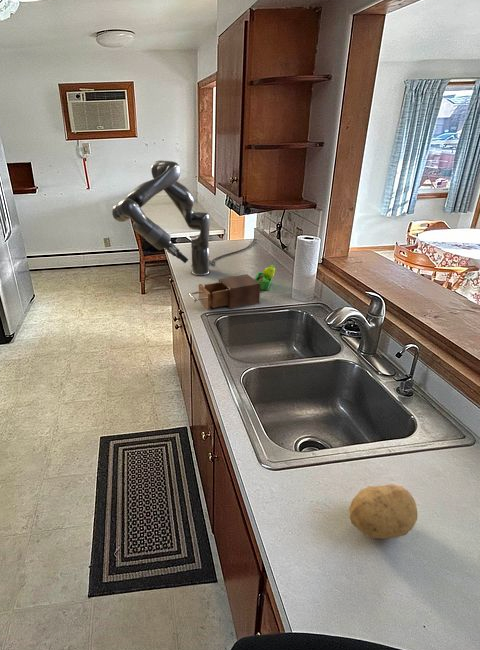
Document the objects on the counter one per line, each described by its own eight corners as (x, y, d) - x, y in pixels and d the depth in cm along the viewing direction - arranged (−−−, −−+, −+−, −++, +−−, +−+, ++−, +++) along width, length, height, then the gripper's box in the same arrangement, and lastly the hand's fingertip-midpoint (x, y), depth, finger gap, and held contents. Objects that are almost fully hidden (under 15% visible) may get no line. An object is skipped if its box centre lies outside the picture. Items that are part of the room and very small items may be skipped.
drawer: (195, 312, 168) (195, 296, 165) (187, 302, 178) (186, 286, 175) (236, 304, 173) (236, 288, 170) (225, 295, 183) (225, 279, 180)
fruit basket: (257, 281, 199) (258, 260, 194) (275, 283, 196) (276, 262, 192) (253, 290, 189) (254, 268, 185) (272, 292, 187) (273, 269, 182)
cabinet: (229, 308, 172) (230, 288, 168) (218, 297, 183) (218, 278, 179) (259, 303, 176) (260, 283, 172) (246, 292, 187) (247, 274, 183)
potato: (332, 514, 82) (337, 487, 79) (387, 495, 85) (394, 469, 82) (366, 560, 73) (373, 532, 70) (425, 536, 77) (434, 509, 73)
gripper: (167, 232, 149) (197, 258, 158) (157, 225, 161) (186, 249, 169) (154, 248, 150) (185, 272, 158) (146, 239, 162) (175, 262, 170)
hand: (186, 260), depth 164 cm, fingers closed
